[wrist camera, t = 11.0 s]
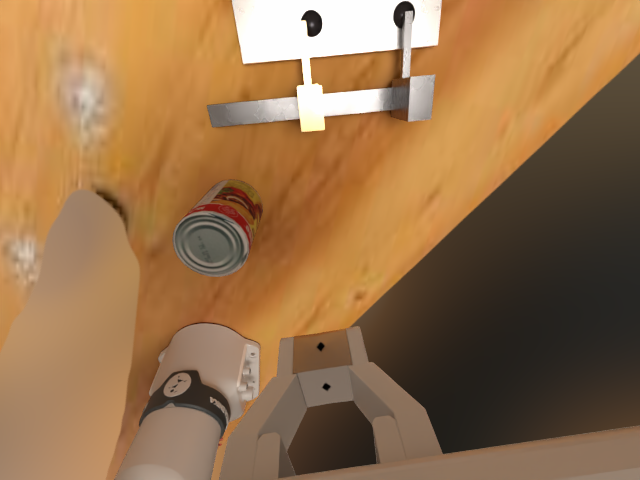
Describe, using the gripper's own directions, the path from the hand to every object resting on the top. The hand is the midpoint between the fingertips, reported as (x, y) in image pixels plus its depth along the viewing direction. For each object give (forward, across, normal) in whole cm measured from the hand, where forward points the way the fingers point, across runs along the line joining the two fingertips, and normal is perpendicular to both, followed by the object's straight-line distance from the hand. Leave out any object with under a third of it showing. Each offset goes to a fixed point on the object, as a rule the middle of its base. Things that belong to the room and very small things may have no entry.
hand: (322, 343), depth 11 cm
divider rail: (+31, -3, -10) cm, 33 cm away
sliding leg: (+31, -2, -10) cm, 32 cm away
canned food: (+31, +11, +4) cm, 34 cm away
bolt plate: (+31, -6, -18) cm, 36 cm away
